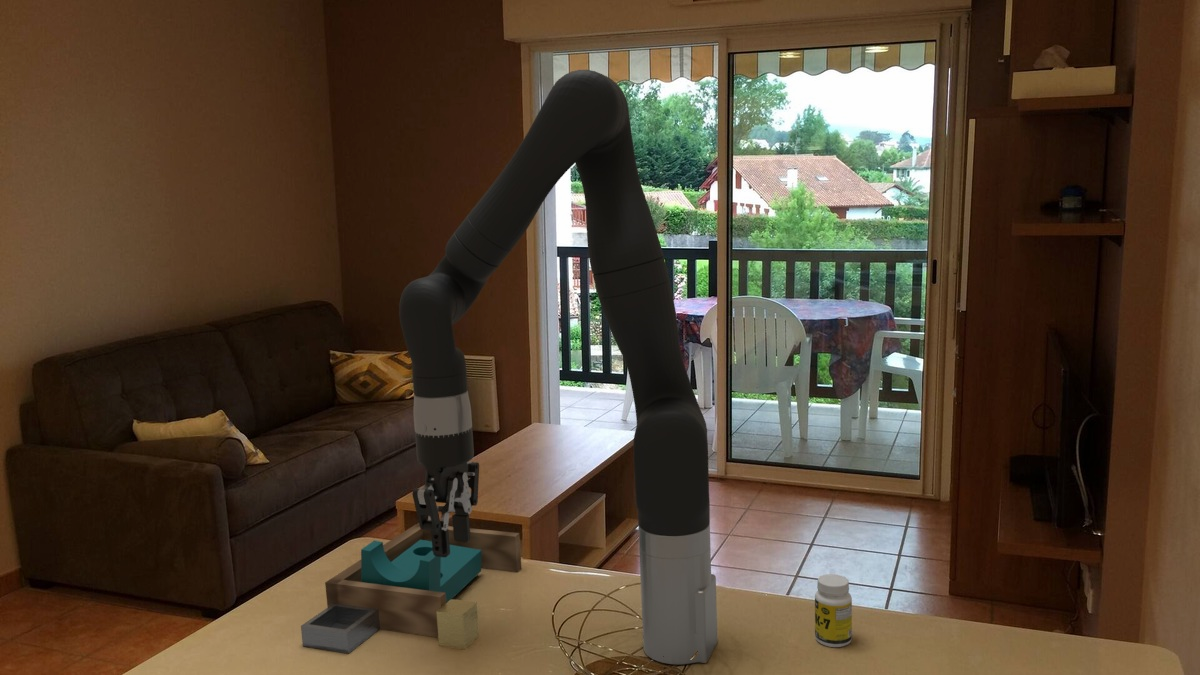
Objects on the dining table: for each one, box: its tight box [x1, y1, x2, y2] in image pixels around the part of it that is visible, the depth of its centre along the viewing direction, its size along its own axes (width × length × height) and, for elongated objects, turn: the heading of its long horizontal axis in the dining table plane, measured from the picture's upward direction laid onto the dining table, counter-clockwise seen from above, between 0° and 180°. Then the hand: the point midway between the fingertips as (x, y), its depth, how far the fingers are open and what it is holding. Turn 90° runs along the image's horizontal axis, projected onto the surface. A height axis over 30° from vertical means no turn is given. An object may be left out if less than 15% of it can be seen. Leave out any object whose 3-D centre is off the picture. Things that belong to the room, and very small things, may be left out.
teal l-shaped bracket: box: [360, 540, 482, 603], centre depth 146 cm, size 18×11×10 cm, turn 163°
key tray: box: [300, 603, 381, 654], centre depth 134 cm, size 8×8×3 cm
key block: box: [436, 598, 480, 650], centre depth 132 cm, size 4×4×5 cm
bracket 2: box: [324, 522, 522, 638], centre depth 147 cm, size 19×25×6 cm
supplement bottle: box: [814, 573, 853, 648], centre depth 127 cm, size 5×5×8 cm
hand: (452, 547), depth 130 cm, fingers open, 5 cm apart
